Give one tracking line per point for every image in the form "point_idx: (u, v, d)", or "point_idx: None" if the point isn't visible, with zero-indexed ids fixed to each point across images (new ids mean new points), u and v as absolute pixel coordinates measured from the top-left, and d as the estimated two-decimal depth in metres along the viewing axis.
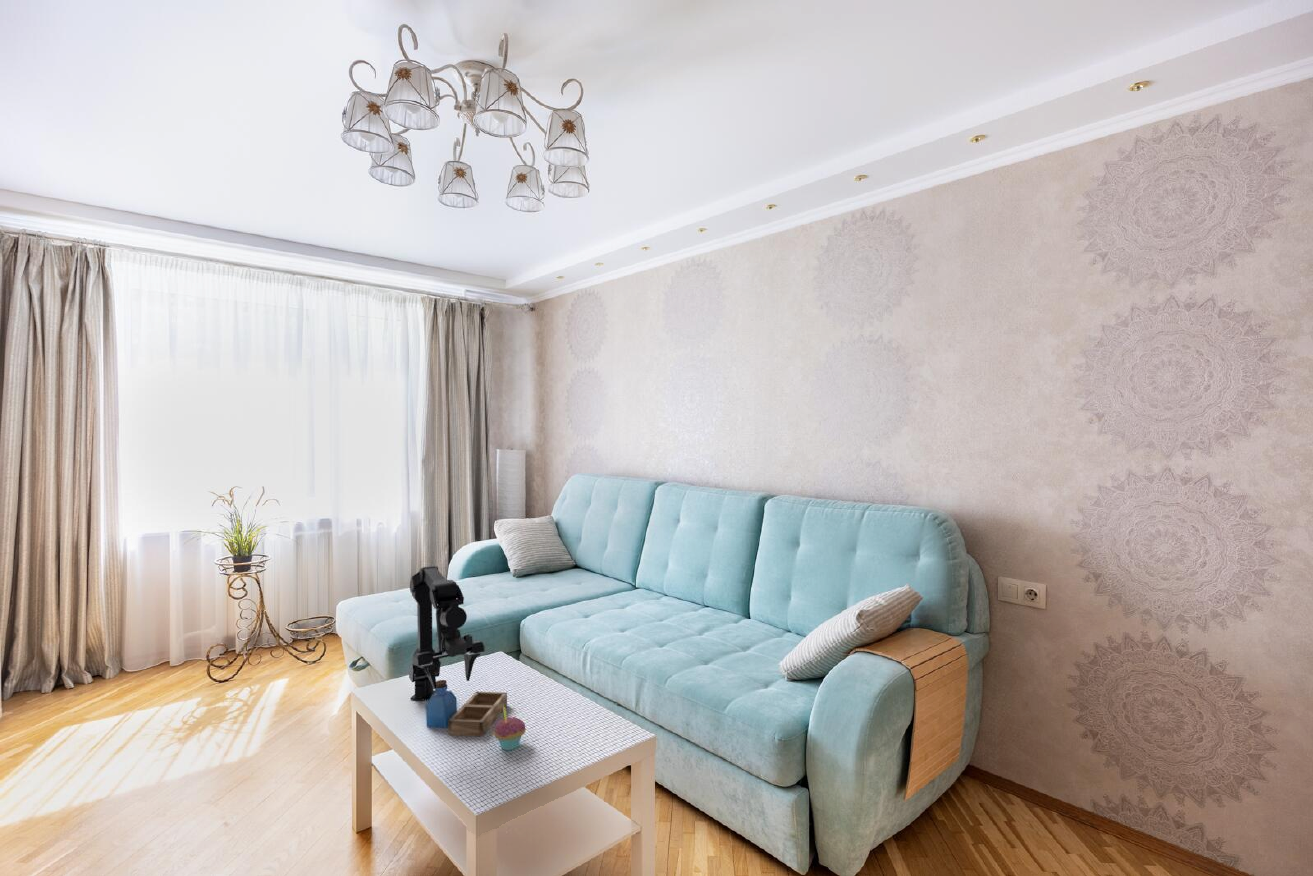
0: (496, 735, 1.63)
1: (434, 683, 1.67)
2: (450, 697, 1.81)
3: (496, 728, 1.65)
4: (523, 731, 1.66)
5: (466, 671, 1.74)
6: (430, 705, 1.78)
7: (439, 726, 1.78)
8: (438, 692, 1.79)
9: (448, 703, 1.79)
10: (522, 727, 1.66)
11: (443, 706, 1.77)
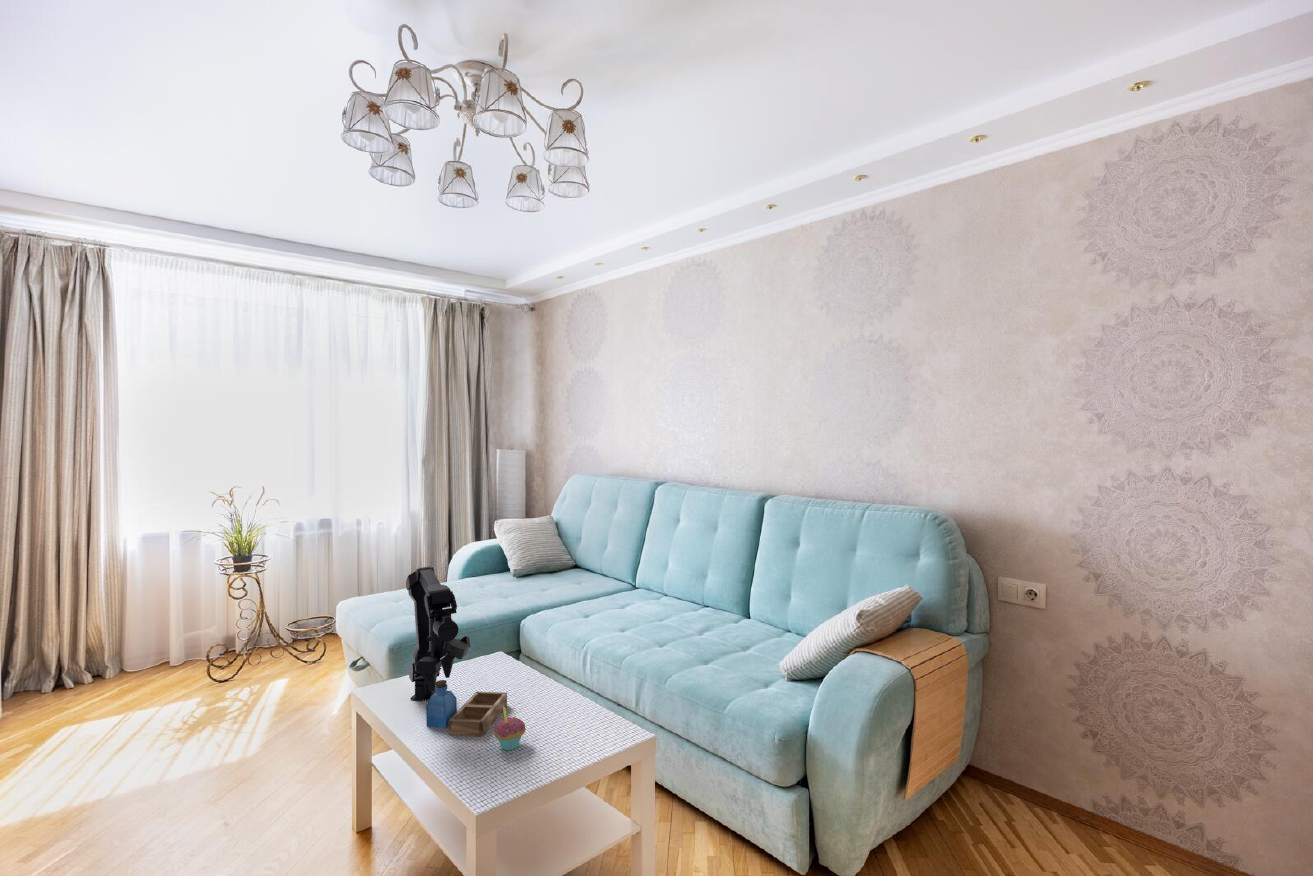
0: (496, 735, 1.63)
1: (435, 685, 1.75)
2: (450, 697, 1.81)
3: (496, 728, 1.65)
4: (523, 731, 1.66)
5: (446, 669, 1.85)
6: (430, 705, 1.78)
7: (439, 726, 1.78)
8: (438, 692, 1.79)
9: (448, 703, 1.79)
10: (522, 727, 1.66)
11: (443, 706, 1.77)
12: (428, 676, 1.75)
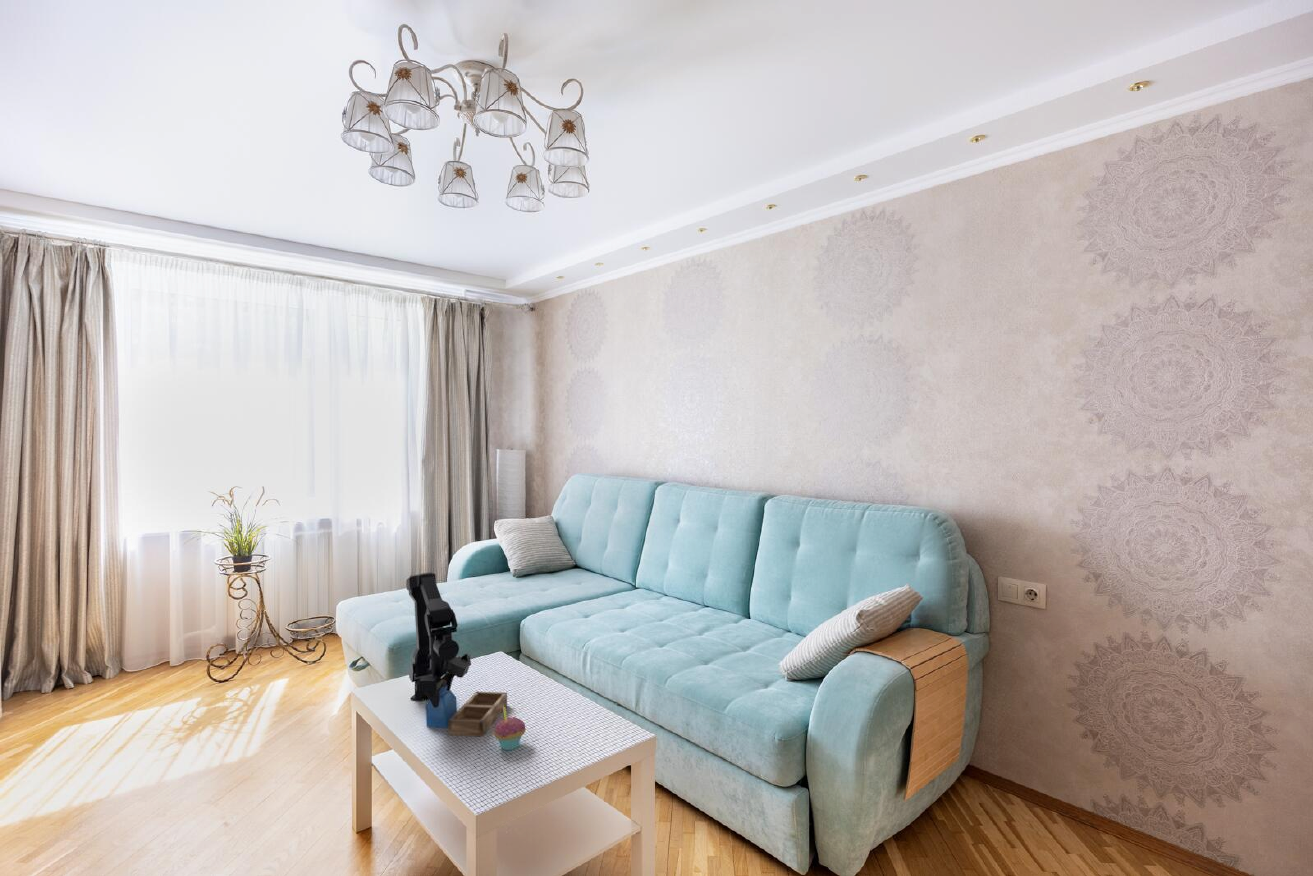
0: (496, 735, 1.63)
1: (438, 702, 1.77)
2: (450, 697, 1.81)
3: (496, 728, 1.65)
4: (523, 731, 1.66)
5: None
6: (429, 705, 1.78)
7: (439, 726, 1.78)
8: None
9: (448, 703, 1.79)
10: (522, 727, 1.66)
11: (443, 706, 1.77)
12: (431, 693, 1.76)
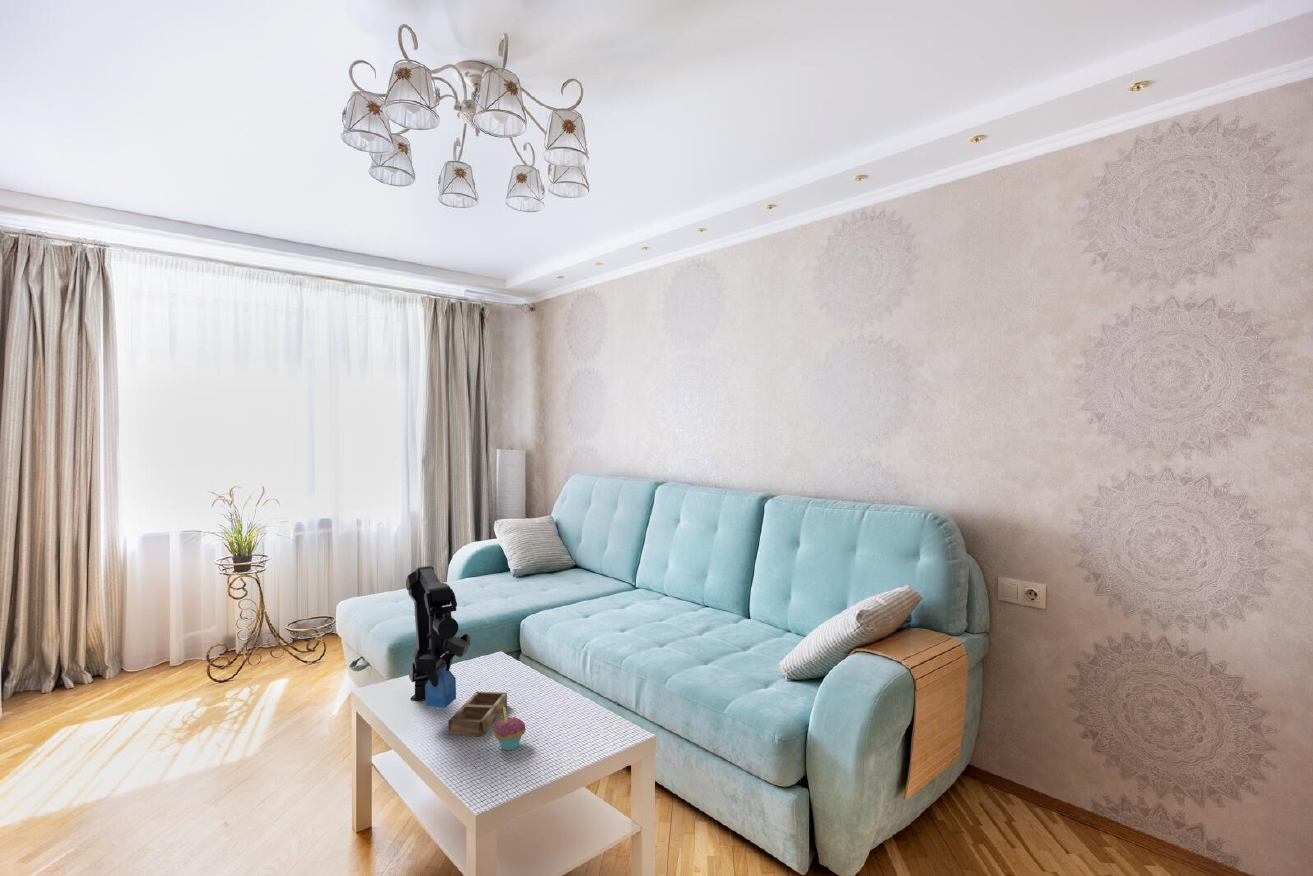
0: (496, 735, 1.63)
1: (437, 681, 1.76)
2: (449, 677, 1.80)
3: (496, 728, 1.65)
4: (523, 731, 1.66)
5: None
6: (429, 685, 1.78)
7: (438, 706, 1.77)
8: None
9: (447, 683, 1.78)
10: (522, 727, 1.66)
11: (442, 685, 1.77)
12: (430, 672, 1.76)
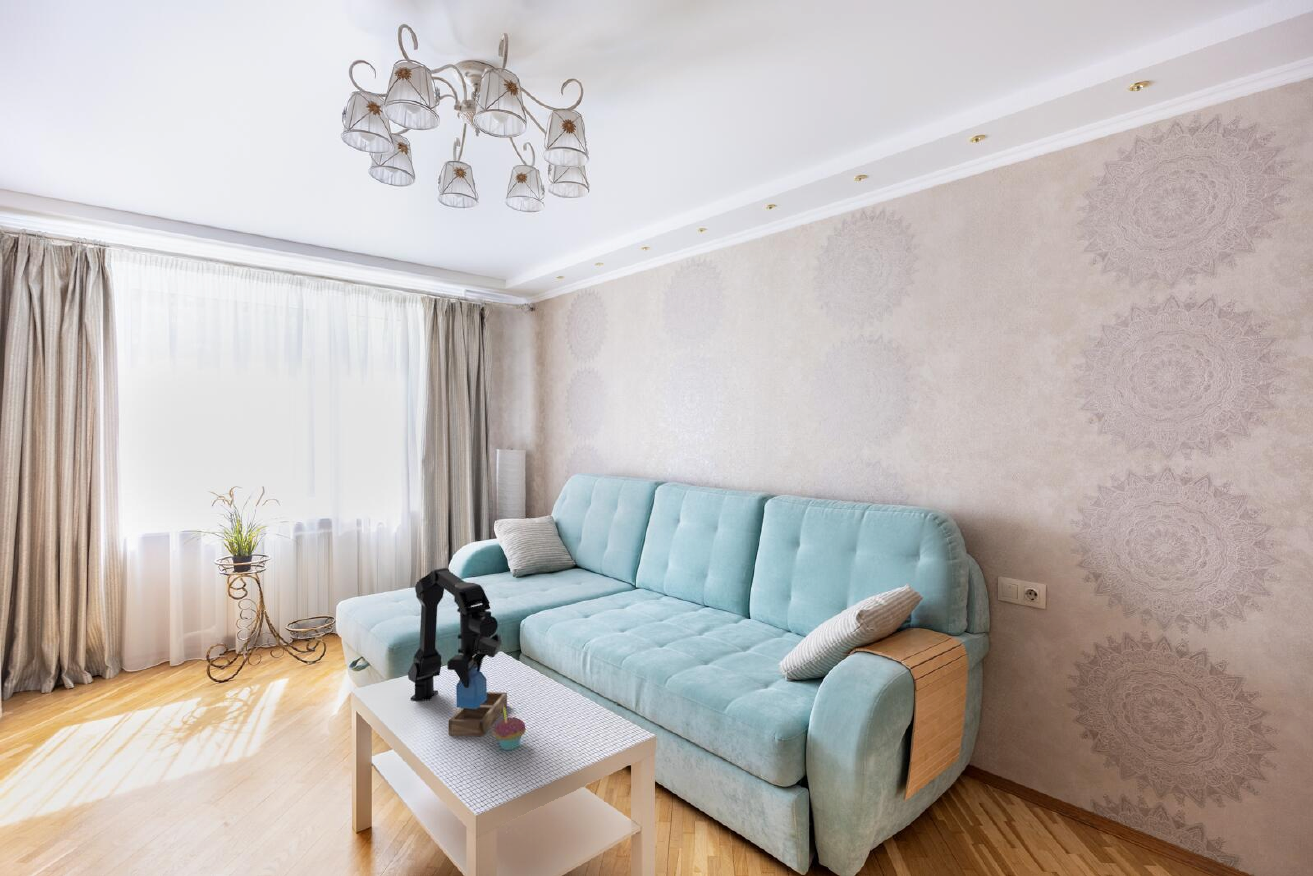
0: (496, 735, 1.63)
1: (468, 682, 1.74)
2: (480, 677, 1.77)
3: (496, 728, 1.65)
4: (523, 731, 1.66)
5: None
6: (460, 686, 1.75)
7: (469, 707, 1.74)
8: None
9: (478, 683, 1.75)
10: (522, 727, 1.66)
11: (474, 686, 1.74)
12: (462, 673, 1.73)
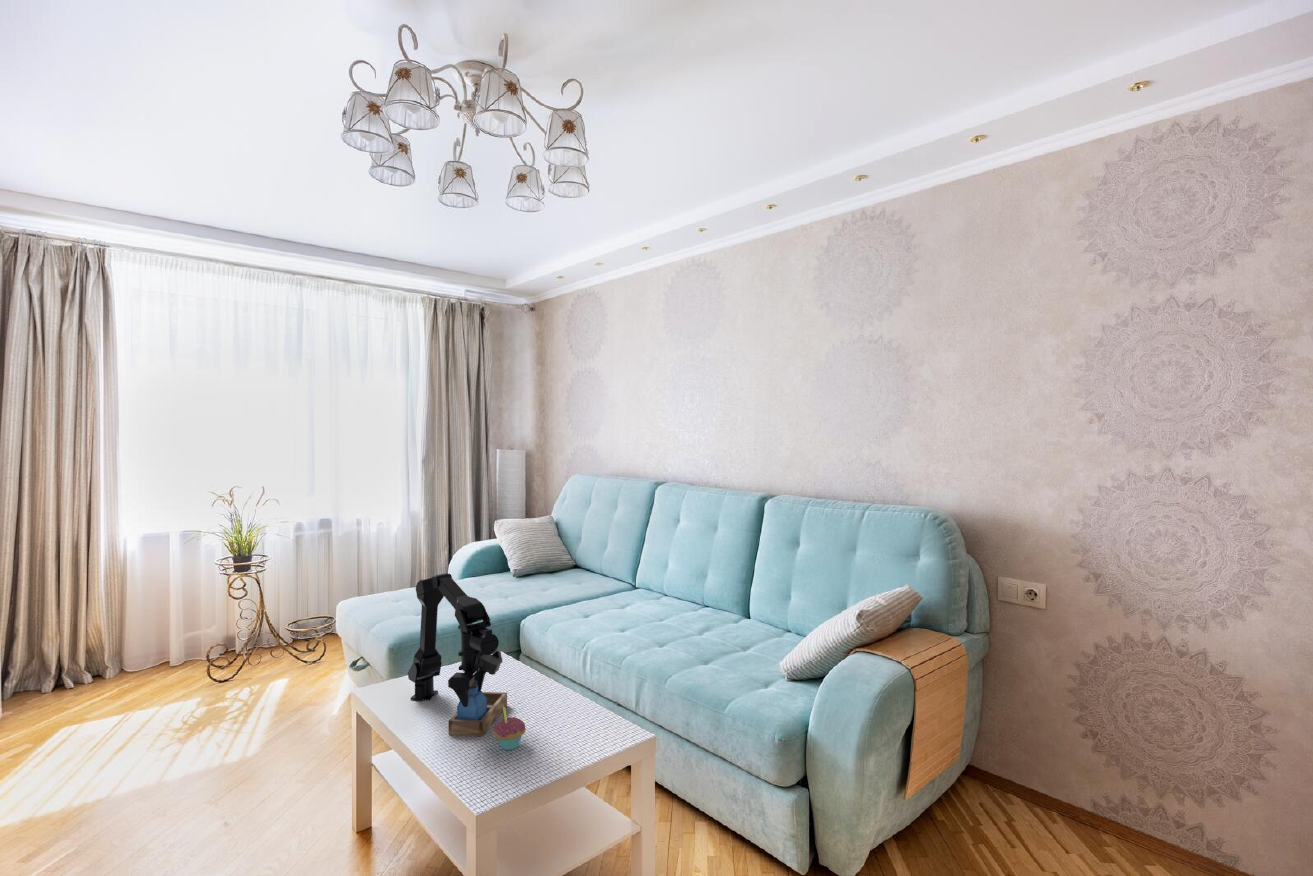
0: (496, 735, 1.63)
1: (467, 701, 1.72)
2: (481, 697, 1.78)
3: (496, 728, 1.65)
4: (523, 731, 1.66)
5: (477, 684, 1.82)
6: (461, 706, 1.75)
7: None
8: (469, 693, 1.76)
9: (479, 703, 1.76)
10: (522, 727, 1.66)
11: (475, 706, 1.74)
12: (461, 692, 1.72)
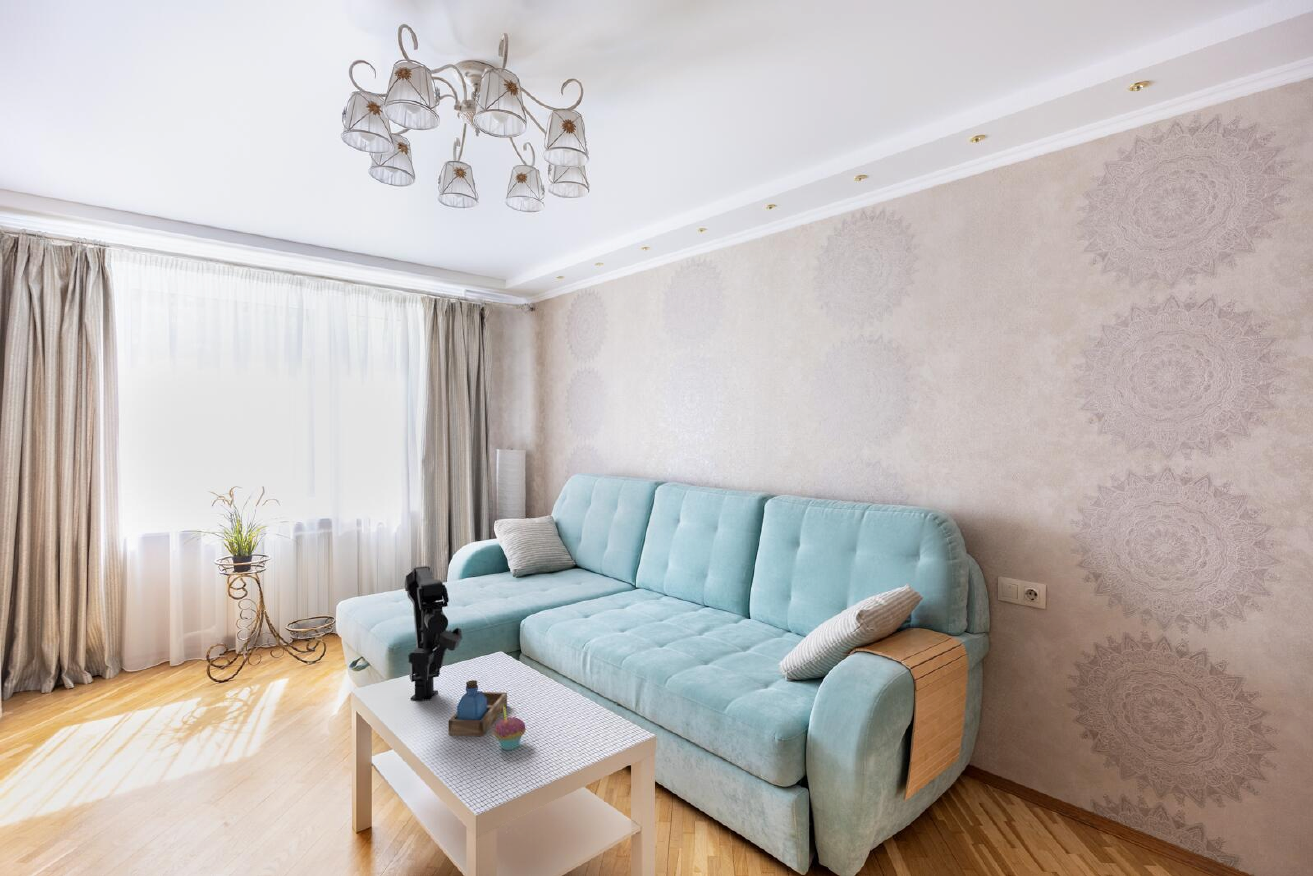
0: (496, 735, 1.63)
1: (427, 676, 1.80)
2: (481, 697, 1.78)
3: (496, 728, 1.65)
4: (523, 731, 1.66)
5: (437, 660, 1.89)
6: (461, 706, 1.75)
7: None
8: (469, 693, 1.76)
9: (479, 703, 1.76)
10: (522, 727, 1.66)
11: (475, 706, 1.74)
12: (421, 667, 1.79)
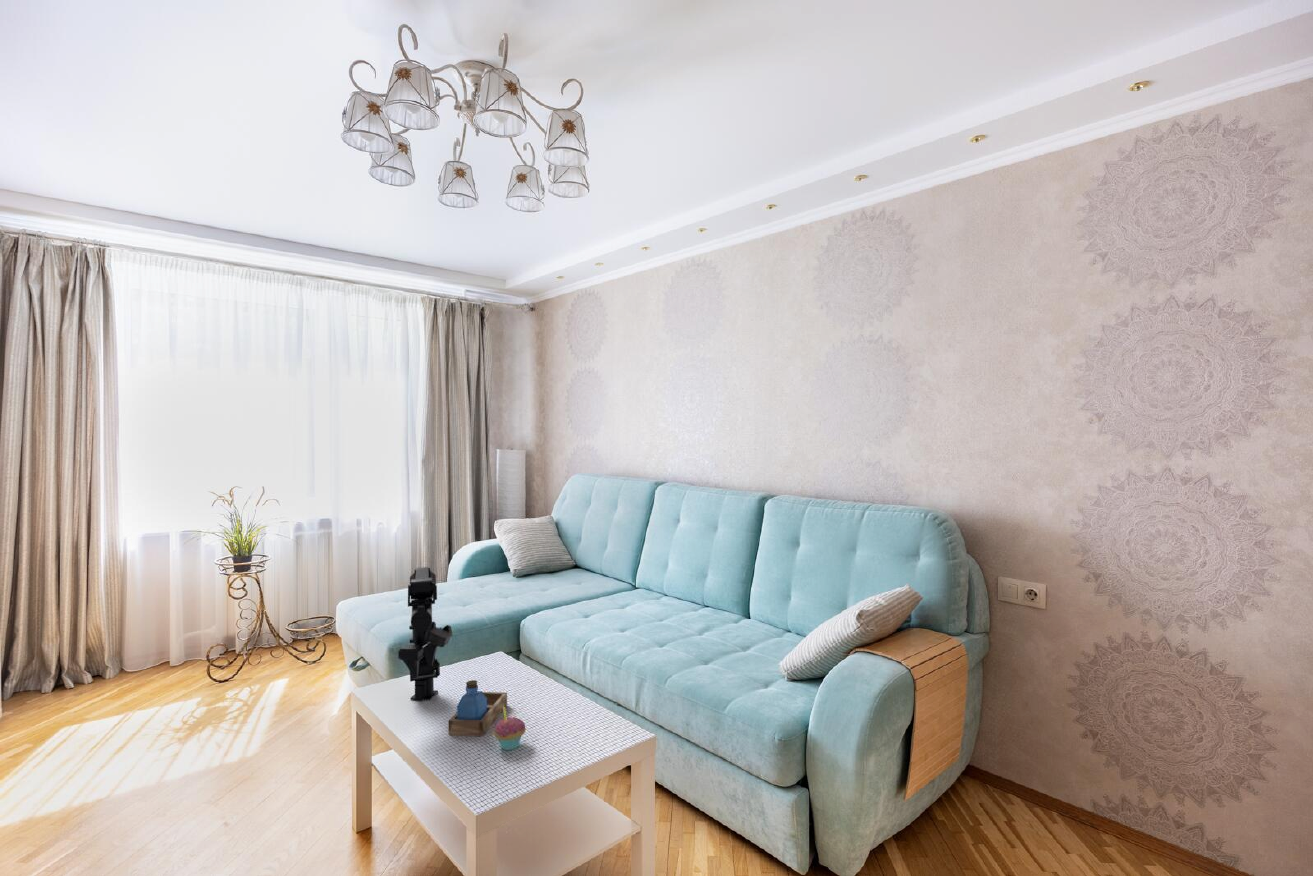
0: (496, 735, 1.63)
1: (417, 672, 1.81)
2: (481, 697, 1.78)
3: (496, 728, 1.65)
4: (523, 731, 1.66)
5: (428, 657, 1.91)
6: (461, 706, 1.75)
7: None
8: (469, 693, 1.76)
9: (479, 703, 1.76)
10: (522, 727, 1.66)
11: (475, 706, 1.74)
12: (410, 663, 1.80)
